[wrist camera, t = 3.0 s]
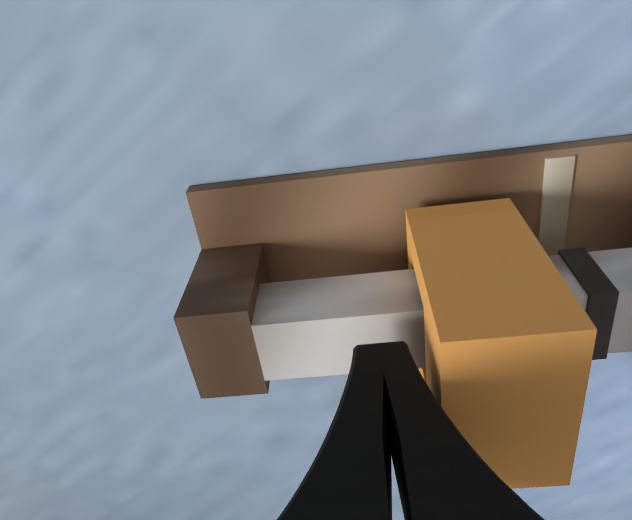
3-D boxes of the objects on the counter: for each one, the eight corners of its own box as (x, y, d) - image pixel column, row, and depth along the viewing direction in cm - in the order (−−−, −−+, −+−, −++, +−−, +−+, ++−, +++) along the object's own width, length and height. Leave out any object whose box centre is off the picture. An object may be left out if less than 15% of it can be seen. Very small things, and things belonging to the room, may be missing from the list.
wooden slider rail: (736, 122, 15) (861, 181, 12) (681, 317, 19) (764, 408, 15) (189, 186, 17) (150, 255, 13) (236, 355, 20) (215, 446, 17)
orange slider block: (509, 197, 15) (596, 329, 10) (501, 327, 18) (569, 485, 13) (405, 209, 16) (440, 342, 11) (411, 335, 18) (442, 492, 13)
